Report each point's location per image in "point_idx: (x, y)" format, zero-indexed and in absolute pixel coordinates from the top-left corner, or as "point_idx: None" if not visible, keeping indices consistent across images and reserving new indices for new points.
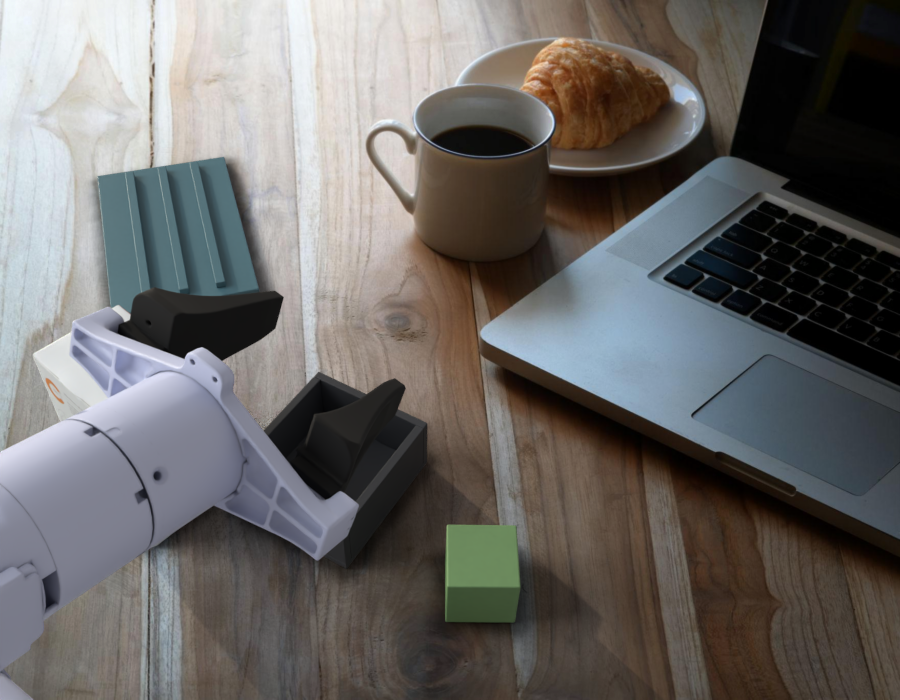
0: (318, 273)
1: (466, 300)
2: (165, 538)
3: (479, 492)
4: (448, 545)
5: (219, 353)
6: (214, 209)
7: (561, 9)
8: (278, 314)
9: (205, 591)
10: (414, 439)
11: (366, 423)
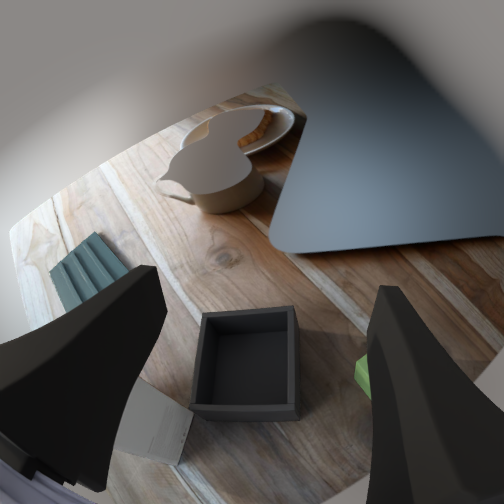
0: (165, 258)
1: (251, 227)
2: (179, 458)
3: (341, 325)
4: (367, 374)
5: (119, 390)
6: (100, 256)
7: (206, 109)
8: (161, 292)
9: (225, 478)
10: (293, 320)
11: (476, 390)
